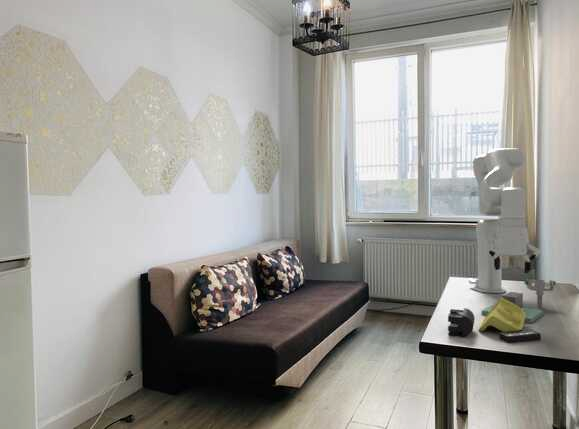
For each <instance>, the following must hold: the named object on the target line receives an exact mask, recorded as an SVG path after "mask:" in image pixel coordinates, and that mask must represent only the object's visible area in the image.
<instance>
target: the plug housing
mask: <svg viewBox="0 0 579 429" xmlns="http://www.w3.org/2000/svg"><path fill="white" fill-rule="evenodd" d="M502 298H504V299H505V300H507V301H509V302H511V303H513V304H515V305H516V306H518V307H519V308H521V309H523V306H524V305H523V303H524V302H523V301H524V294H523V292H522V293H521V292H515V291H509V292H507V293H505V294H503V295H502Z"/></svg>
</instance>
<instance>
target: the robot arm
mask: <svg viewBox="0 0 579 429" xmlns="http://www.w3.org/2000/svg"><path fill="white" fill-rule="evenodd" d="M525 161H526V158H525V154H524V152H523V150H522V149H520V148H515V147H513V148H510V147H509V148H493V149H491V150H489V151H488V152H486V154H480V155H477V156H476V157H475V158H473V162H472V169H473V174H474V177H475V180H476V183H477V187H478V208H479V212H480V215H482V216H485V217H500V218H494V219H493V218H487V219H482V220H479V221H477V223H476V225H475V231H476V232H475V234H476V238H477V278H476V279H474V278H469V279H468V283H469V285H470V284H473V285H474V286H473V289H474V290H475V291H477V292H482V293H485V294H486V293H489V294H500V293H505V292H506V288H505V287H503V286H502V271H503V270H502V269H503V268H502V266H503V265H502V264H503V263H502V256H513V257H523V259H524V260H525V262H524V274H529V273H530V272H531V270H532V261H534V260H535V259H536V258H538V255H539V254H540V252H541V249H540V248H537V247H536V246H534V245H532V244H530V239H529V238H530V237H529V231H528V228H527V227H526V191H525V189H524V188H521V187H517V186H509V187H508V186H506V187H505V186H503V185H505V184H507V183H509V182H510V181H511V180H512V179H513V176H514V173H516V172H518V171H520V170H521V169H522V168H523V167H524V165H525ZM500 186H501V187H500ZM530 250H531V251H532V252H533V253H532V255H530Z"/></svg>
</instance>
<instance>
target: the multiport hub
mask: <svg viewBox="0 0 579 429" xmlns="http://www.w3.org/2000/svg"><path fill="white" fill-rule="evenodd" d="M541 337H542V333H541V332H538V331H536V330H533V329H530V328H529V329H528V328H527V329H522V330H521V331H507V332H503V331H500V332H499V334H498V339H499V340H501V341H503V342H505V343H508V344H516V343H517V344H518V343H525V342H526V343H527V342H534V341H535V342H538V341H541Z"/></svg>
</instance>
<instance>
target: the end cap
mask: <svg viewBox="0 0 579 429" xmlns="http://www.w3.org/2000/svg"><path fill="white" fill-rule="evenodd" d="M447 322H449V325H447V332H448V333H447V335H448V336H449V337H457V338H465V337H467V336H468V335H470V334H472V333H473V330H474V325H475V314H474V312H472V311H471V310H470V309H469V308H466V307H464V308H463V309H453V308H451V309H450V310H449V313H448V315H447Z"/></svg>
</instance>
